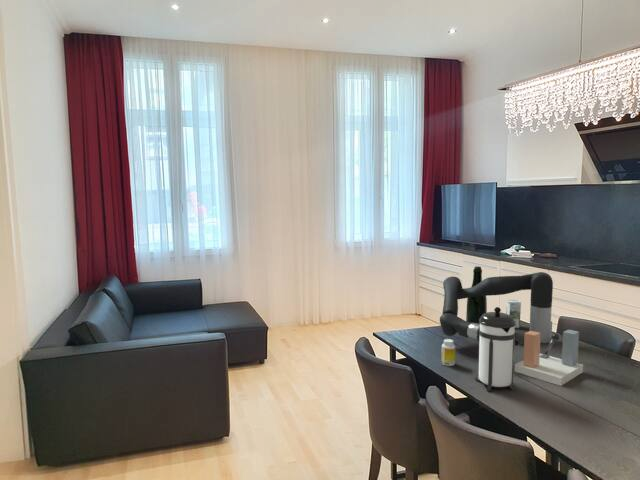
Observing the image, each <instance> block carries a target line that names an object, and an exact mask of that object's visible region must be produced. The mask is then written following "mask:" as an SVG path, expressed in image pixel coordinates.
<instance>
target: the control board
mask: <svg viewBox="0 0 640 480" xmlns="http://www.w3.org/2000/svg"><path fill="white" fill-rule="evenodd" d="M523 362H524V359H523V360H521V361H519V362H517V363H514V372H515V373H517V374H521V375H524V376H528V377H531V378H535V379H537V380H541V381H543V382H547V383H551V384H554V385H557V386H559V387H561V386H563V385H565V384H566V383H568V382H569V381H571V380H572V379H574V378H576V377H578V376H579V375H580V374H582V373H584V364H581V363H579V362H578V363H577V364H575V365H573V366H570V365H566V364H562V358H559V357H555V356H551V355H548V354H547V355H546V354H543V353H540V360H539V365H537V366H535V367H534V368H533V367H530V366H526V365H523Z"/></svg>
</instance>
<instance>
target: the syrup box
mask: <svg viewBox="0 0 640 480" xmlns="http://www.w3.org/2000/svg"><path fill="white" fill-rule="evenodd" d="M505 308H506V313H505V314H508V315H510V316H512V317H513V318H514V321H515V322H516V326H515V329H521V328H520V327H521V314H522V313H521V308H522V302H521V301H520V300H519V299H506V307H505Z"/></svg>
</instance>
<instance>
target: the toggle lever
mask: <svg viewBox="0 0 640 480" xmlns="http://www.w3.org/2000/svg"><path fill="white" fill-rule="evenodd" d="M559 340H560V335H559V334H557V333H552V339H551V341H550V342H549V343H548V345H547V347H546V349H545V350H544V352H543V353H544V354H545V355H548V354H549V353H550V350H551V349H552V348H553V346H554V344H555V343H556V341H559Z"/></svg>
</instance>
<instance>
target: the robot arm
mask: <svg viewBox="0 0 640 480" xmlns="http://www.w3.org/2000/svg"><path fill="white" fill-rule="evenodd" d="M553 281H554V280H553V278H552V276H551V275H550V274H549V273H548V272H545V271H540V272H539V271H538V272H534V273H530V274H529V273H528V274H524V275H504V276H501V275H500V276H492V277H491V276H490V277H489V276H488V277H486V278H484V279H482V281H481V282H480V283H478V284H477V285H475V286H474V287H467V288H465V287H464V288H463V283H462V282H461V279H460V278H459V277H457V276H449V277H446V278H445V279H444V280H443V283H442V285H443V286H442V287H443V291H444V295H443V297H444V298H443V308H442V315H440V317H439V323H440V326H441V330H442V333H443V334H444V335H446V336H447V337H452V336H455V335H456V334H458V335H459V336H460V337H463V338H468V339H471V340H473V341H476V342H479V328H480V324H478V323H471V322H468V321H466V320H464V319H463V318H461V317H459V316H458V315H459V313H458V311H459V302H458V300H462V299H464V300H465V299H467V298H470V297H477V296H486V297H487V296H502V295H507V294H512V293H516V292H519V291H530V306H529V307H530V309H529V310H530V312H529V331H534V332H539V333H541V337H540V344H549V343H550V342H551V340H552V335H553V321H552V309H553V308H552V305H553V290H554V284H553V283H554V282H553ZM529 331H528V332H529ZM520 344H521V340H520V339H517V338H515V346H517V347H518V346H520Z"/></svg>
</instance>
